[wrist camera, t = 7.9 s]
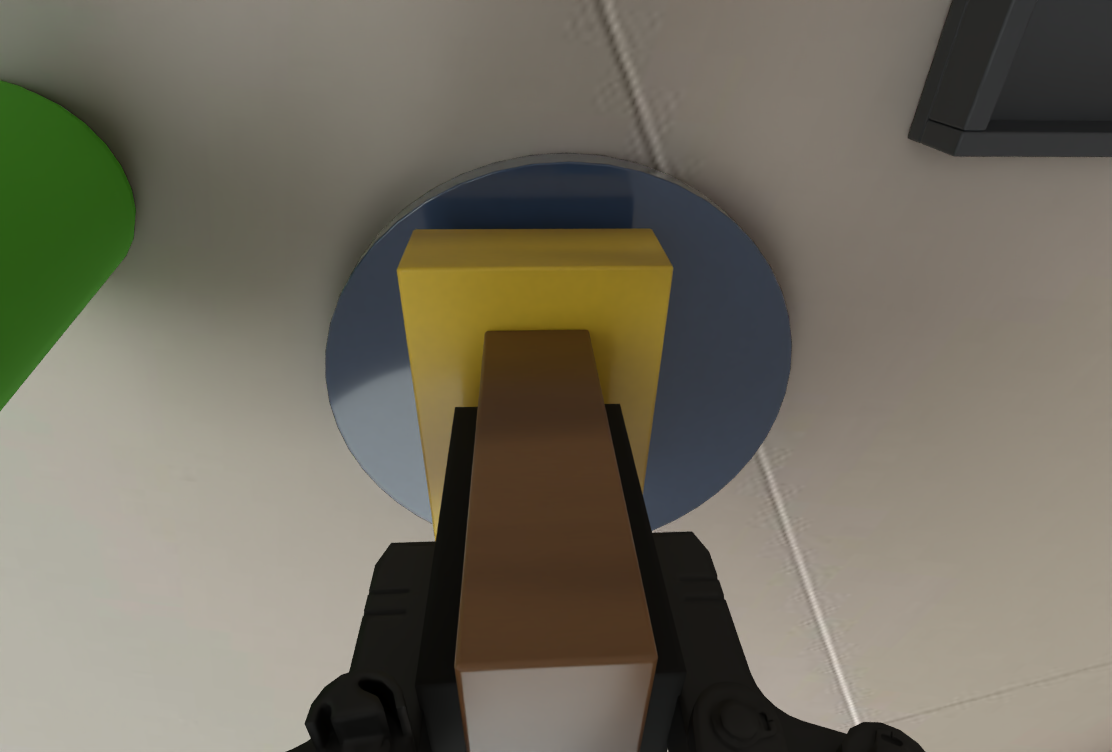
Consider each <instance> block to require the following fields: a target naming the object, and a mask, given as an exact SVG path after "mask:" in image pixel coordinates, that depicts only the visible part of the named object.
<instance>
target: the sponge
mask: <svg viewBox="0 0 1112 752" xmlns="http://www.w3.org/2000/svg"><path fill="white" fill-rule="evenodd" d="M672 275H673V266H672V264H671V262H670V260H669V259H668V257H667V255H666V253H665V252H664V250H663V248H662V246H661V244H660V243H659V241H658V239H657V237H656V236H655V234H654V232H653V230H652V229H416V230H413V232H412V235H411V237H410V240H409V242H408V244H407V247H406V249H405V251H404V254H403V256H402V258H401V261H400V263H399V266H398V268H397V277H398V284H399V291H400V298H401V305H402V312H403V319H404V326H405V333H406V340H407V347H408V354H409V361H410V368H411V375H412V382H413V389H414V396H415V403H416V410H417V417H418V424H419V431H420V438H421V445H422V452H423V459H424V466H425V473H426V480H427V487H428V494H429V501H430V508H431V515H432V522H433V529H434V536H435V541H436V535H437V528H438V521H439V514H440V507H441V500H442V493H443V486H444V479H445V473H446V466H447V459H448V452H449V445H450V438H451V431H452V424H453V417H454V410H455V407H478V410H477V421H476V432H475V443H474V454H473V465H472V476H471V487H470V498H469V509H468V520H467V530H466V541H465V552H464V563H463V574H462V585H461V596H460V607H459V618H458V629H457V640H456V651H455V662H454V669H455V676H456V683H457V690H458V697H459V704H460V711H461V718H462V725H463V733H464V740H465V747H466V752H640V747H641V742H642V737H643V732H644V726H645V721H646V716H647V711H648V706H649V701H650V696H651V691H652V686H653V681H654V676H655V671H656V665H657V660H658V654H657V649H656V644H655V640H654V635H653V630H652V625H651V621H650V616H649V611H648V607H647V602H646V597H645V592H644V588H643V583H642V578H641V574H640V569H639V564H638V559H637V555H636V550H635V545H634V541H633V536H632V531H631V526H630V522H629V517H628V512H627V508H626V503H625V498H624V494H623V489H622V484H621V479H620V475H619V470H618V465H617V461H616V456H615V451H614V446H613V442H612V437H611V432H610V428H609V423H608V418H607V413H606V409H605V404H620V406H621V410H622V414H623V418H624V422H625V426H626V430H627V434H628V438H629V442H630V446H631V450H632V454H633V458H634V462H635V466H636V470H637V474H638V478H639V482H640V486H641V490H642V494H643V489H644V482H645V475H646V467H647V460H648V452H649V445H650V438H651V430H652V423H653V415H654V408H655V401H656V393H657V386H658V379H659V371H660V364H661V356H662V349H663V342H664V334H665V327H666V319H667V312H668V305H669V297H670V290H671V282H672Z"/></svg>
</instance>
